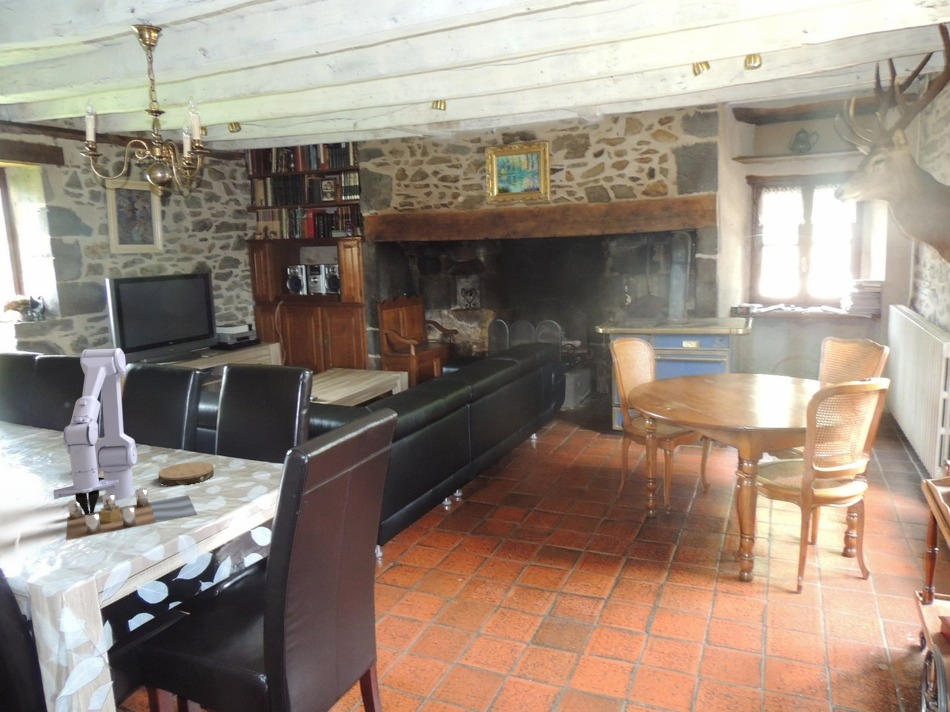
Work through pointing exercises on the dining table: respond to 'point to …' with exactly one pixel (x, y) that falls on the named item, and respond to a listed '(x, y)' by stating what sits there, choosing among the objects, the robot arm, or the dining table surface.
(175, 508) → the spacer board
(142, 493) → the steel spacers
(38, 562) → the dining table surface
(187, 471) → the brown flat round disc
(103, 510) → the brass nut
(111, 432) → the robot arm
